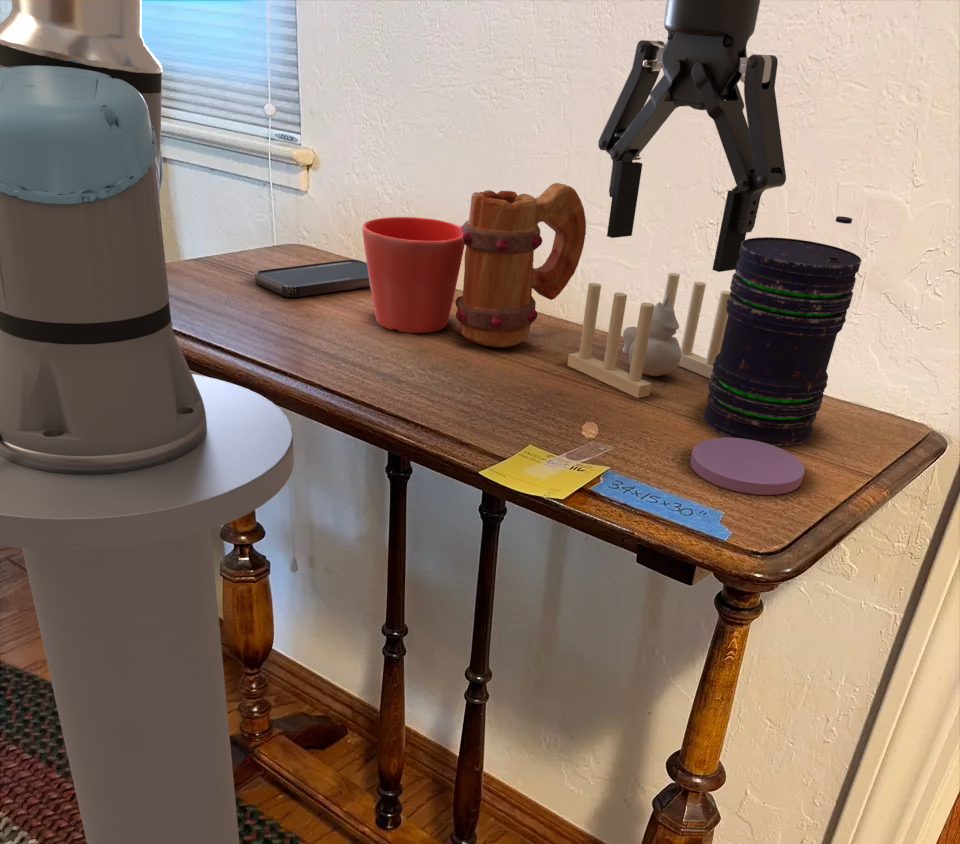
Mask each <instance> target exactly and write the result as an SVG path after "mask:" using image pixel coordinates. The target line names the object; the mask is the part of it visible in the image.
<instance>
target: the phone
mask: <svg viewBox="0 0 960 844" xmlns="http://www.w3.org/2000/svg"><path fill="white" fill-rule="evenodd" d="M254 283H255V284H256V285H258V286H261V287H263V288H265V289H267V290H270V291H271V292H273V293H275V294H278V295H279V296H282V297H286V298H299V297H308V296H314V295H320V294H321V295H322V294H329V293H335V292H340V291H349V290H356V289H362V288H371V287H370V281H369V275H368V268H367V262H366V261H363V260H361V259H360V260H359V259H343V260H335V261H328V262H327V261H326V262H319V263H318V262H317V263H310V264H303V265H301V264H300V265H293V266H285V267H277V268H269V269H260V270H256V271H254Z"/></svg>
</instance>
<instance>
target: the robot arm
mask: <svg viewBox="0 0 960 844" xmlns="http://www.w3.org/2000/svg"><path fill="white" fill-rule="evenodd" d="M760 3H761V0H666V5H665V12H664V19H663V27H664V29H665V30H666V31H667V39H666V42H664V41H663V40H649V39H648V40H645V39H641V40H639V41H638V42H637V45H636V47H635V53H634V57H633V61H632V67H631V69H630V72H629V75H628V76H627V79H626V81H625V82H624V85H623V87H622V89H621V92H620V94H619V95H618V98H617V100H616V102H615V104H614V106H613V109H612V110H611V112H610V115H609V117H608V120H607V121H606V124H605V126H604V128H603V130H602V132H601V135H600V137H599V139H598V142H597V145H598V149H599V150H600V151H605V152H606V153H607V154H608V155H609V156H610V160H611V161H612V165H611V171H610V172H611V173H610V181H609V186H608V187H609V189H608V194H609V197H610V198H611V202H610V203H611V204H610V211H609V218H608V224H607V232H606V237H607V238H610V239H615V238H616V239H617V238H624V237H625V238H626V237H632V236H633V232H634V231H633V229H634V225H635V224H634V223H635V216H636V210H637V204H638V198H639V197H638V196H639V191H640V183H641V176H642V171H643V162H639V161H640V160H641V159H642V156H641V155H640V154H641V153H642V152H643V150H644V149H645V147H646V146H647V145H648V144H649V142H650V141H651V140H652V139H653V137H654V136H655V135H656V134H657V132H659V129H661V128H662V126H663V125H664V124H665V122H666V121H667V120H668V118H670V116H671V115H672V113H674V111H675V110H676V109H678V108H679V107H690V108H692V109H693V110H697V111H706V113H707V115H708V117H709V118H711V119H712V120H713V122H714V125H715V128H716V130H717V131H716V132H717V133H718V136H719V140H720V142H721V144H722V147H723V151H724V153H725V156H726V159H727V162H728V164H729V168H730V170H731V173H732V176H733V179H734V182H735V185H736V186H734V188H732V189H731V190H727V194H726V199H725V205H724V210H723V215H722V220H721V226H720V228H719V229H720V230H719V236H718V239H717V244H716V250H715V255H714V259H713V265H712V269H711V270H712V271H714V272H717V273H721V272H722V273H723V272H728V271H729V272H730V271H735V270H736V265H737V261H738V260H739V259H740V254H739V251H740V247H741V243H742V241H744V240H746V238H747V237H746V235H747V233H752V231H753V230H754V228H755V224H756V219H757V214H758V211H759V207H760V201H761V197H762V195H763V193H764V192H765V191H766V190H769V189H773V188H774V189H775V188H779V187H780V188H781V187H782V186H784V185H785V183H786V181H787V173H786V165H785V158H784V151H783V142H782V134H781V127H780V119H779V118H780V117H779V112H778V111H779V110H778V105H777V96H776V88H775V87H776V79H777V73H778V72H777V71H778V63H779V61H778V60H779V59H778V57H777V56H776V55H774V54H756V53H755V54H750V56H748V55H747V44H748V42H749V40H750V38H751V37H752V36H753V34H754V33H755V30H756V24H757V20H758V14H759V11H760V10H759V9H760V6H761V5H760ZM661 70H662V72H663V75H662V76H661V78H660V79H659V80H658V78H659V76H660V72H661ZM162 72H163V67H162V65H161V63H160V62H159V60H158V59H157V58H156V57H155V55H154V54H153V53H152V51H150V49H149V48H148V46H147V45H146V44H145V41H144V39H143V37H142V0H11V10H10V12H9V15H8V16H7V17H6V18H5V19H3V20H2V21H1V22H0V454H1V455H2V456H3V457H5V458H6V459H8V460H10V461H12V462H14V463H17V464H20V465H22V466H25V467H29V468H33V469H37V470H41V471H47V472H54V473H63V474H110V473H120V472H128V471H134V470H139V469H144V468H149V467H153V466H156V465H160V464H163V463H166V462H169V461H172V460H174V459H177V458H179V457H181V456H183V455H185V454H187V453H188V452H190V451H192V450H193V449H194V448H196V447H197V446H198V445H199V444H200V443H201V442H202V441H203V440H204V438H205V436H206V433H207V422H206V412H205V408H204V404H203V400H202V397H201V395H200V392H199V390H198V388H197V385H196V383H195V381H194V378H193V376H192V374H193V373H192V372H191V369H190V367H189V365H188V362H187V360H186V358H185V355H184V353H183V351H182V349H181V346H180V344H179V342H178V339H177V337H176V335H175V332H174V329H173V324H172V323H173V322H172V315H171V305H170V293H169V292H170V291H169V282H168V274H167V264H166V263H167V262H166V255H165V246H164V236H163V226H162V216H161V215H162V214H161V187H162V183H163V172H164V165H163V153H162V149H161V146H162V145H161V144H162V100H163V99H162V94H163V93H162V80H163V79H162V78H163V77H162V76H163V74H162ZM657 81H658V82H657ZM739 82H741V83H743V96H744V98H743V97H742V95H741V91H740V88H739V85H738V83H739ZM743 99H744V100H743ZM744 109H745V112H746V116H745V113H744ZM640 156H641V157H640Z"/></svg>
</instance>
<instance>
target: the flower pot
mask: <svg viewBox="0 0 960 844" xmlns="http://www.w3.org/2000/svg"><path fill="white" fill-rule="evenodd" d="M361 233H362V240H363V249H364V254H365V262H366V263H367V268H368V275H369V281H370V287H369V288H370V292H371V298H372V304H373V309H374V310H373V311H374V315H375V320H376V322H377V324H379V325H380V326H382V327H384V328H385V329H388V330H396V331H398V332H401V333H409V334H410V333H412V334H422V333H423V334H424V333H432V332H437V331H440V330H442V329H444V328H445V327H446V326H447V325H448V322H449V319H450V315H451V310H452V306H453V302H454V298H455V294H456V289H457V284H458V279H459V274H460V270H461V265H462V260H463V259H462V258H463V256H464V251H465V247H466V245H465V244H464V242H463V241H462V235H463V233H462V231H461V226H460V225H458V224H455V223H452V222H448V221H445V220H439V219H434V218H427V217H426V218H425V217H418V216H417V217H415V216H414V217H413V216H390V217H382V218H381V217H380V218H375V219H374V218H373V219H370V220H367V221H365V222H364V223H362V226H361Z"/></svg>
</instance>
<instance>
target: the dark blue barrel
mask: <svg viewBox="0 0 960 844" xmlns="http://www.w3.org/2000/svg"><path fill="white" fill-rule="evenodd" d="M835 222H836V223H839V224H847V225H850V224H852V223H853V218H852V217H849V216H841V215H840V216H839V215H838V216H836V218H835ZM739 254H740V259H739V260H738V261H737V265H736V270H734V271H735V272H734V273H733V274H732V278H731V282H730V286H729V289H730V290H729V291H730V295H729V299H728V300H727V309H726V310H727V313H728V318H727V323H726V327H725V332H724V336H723V341H722V345H721V350H720V353H719V354H718V355H717V356H716V358H715V362H714V363H713V373H712V374H711V377H710V378H709V381H708V387H707V390H708V393H707V397H706V402H707V404H706V406H705V408H704V411H703V415H702V417H703V421H704V423H705V424H706V425H707V426H708V427H709V428H710V429H712V430H713V431H715V432H717V433H719V434H721V435H722V436H725V437H727V438H742V439H749V440H755V441H759V442H763V443H767V444H770V445H773V446H776V447H790V446H796V445H800V444H803V443H805V442H807V441H808V440H809V439H810V438H811V435H812V432H813V426H812V425H813V423H814V422H815V420H816V418H817V415H818V412H819V410H821V406H822V403H823V399H824V393H825V390H826V388H827V386H828V379H829V374H828V372H827V371H828V367H829V363H830V360H831V357H832V354H833V350H834V346H835V342H836V339H837V336H838V333H840V332H841V331H842V330H843V327H844V324H845V323H846V320H847V318H846V317H847V313H848V310H849V308H850V306H851V304H852V300H853V297H854V291H853V290H854V287H855V285H856V280H857V278H856V274H857V273H858V272H859V270H860V267H861V264H862V258H861V257H860V256H859V255H857V254H856V253H855V252H852V251H849V250H846V249H843V248H840V247H838V246H833V245H830V244H825V243H822V242H821V243H820V242H817V241H816V242H815V241H810V240H805V239H797V238H788V237H774V236H773V237H772V236H771V237H768V236H767V237H763V236H762V237H752V238H745V240H744V241H742V243H741V247H740V251H739Z"/></svg>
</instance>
